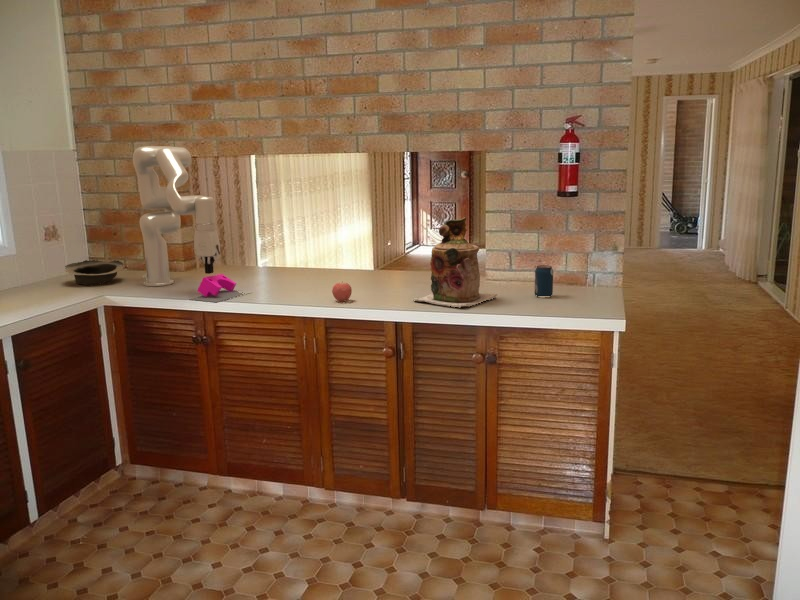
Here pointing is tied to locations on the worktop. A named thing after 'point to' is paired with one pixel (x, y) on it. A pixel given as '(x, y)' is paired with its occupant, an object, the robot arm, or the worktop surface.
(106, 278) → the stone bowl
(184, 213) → the robot arm
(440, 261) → the cookie jar
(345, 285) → the apple
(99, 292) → the worktop surface
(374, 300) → the worktop surface
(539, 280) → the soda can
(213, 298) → the mat
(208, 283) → the toy block
